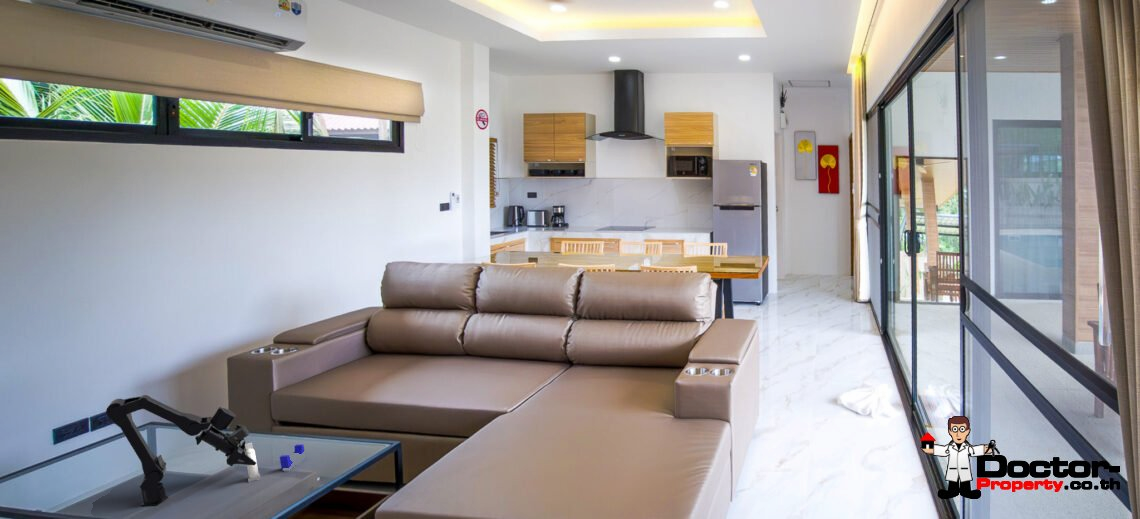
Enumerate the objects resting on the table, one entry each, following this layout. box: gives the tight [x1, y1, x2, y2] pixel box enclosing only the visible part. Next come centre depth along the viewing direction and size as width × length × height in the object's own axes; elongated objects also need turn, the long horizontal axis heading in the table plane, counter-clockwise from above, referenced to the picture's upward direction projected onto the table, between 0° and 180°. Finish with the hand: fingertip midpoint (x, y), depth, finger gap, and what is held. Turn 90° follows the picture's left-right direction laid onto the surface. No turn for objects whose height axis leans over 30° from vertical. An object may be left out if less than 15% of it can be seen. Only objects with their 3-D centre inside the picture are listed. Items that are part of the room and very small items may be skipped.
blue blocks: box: [279, 444, 305, 470], centre depth 297 cm, size 12×4×6 cm, turn 169°
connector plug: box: [245, 442, 261, 483], centre depth 286 cm, size 4×4×14 cm
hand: (255, 461), depth 287 cm, fingers open, 5 cm apart
